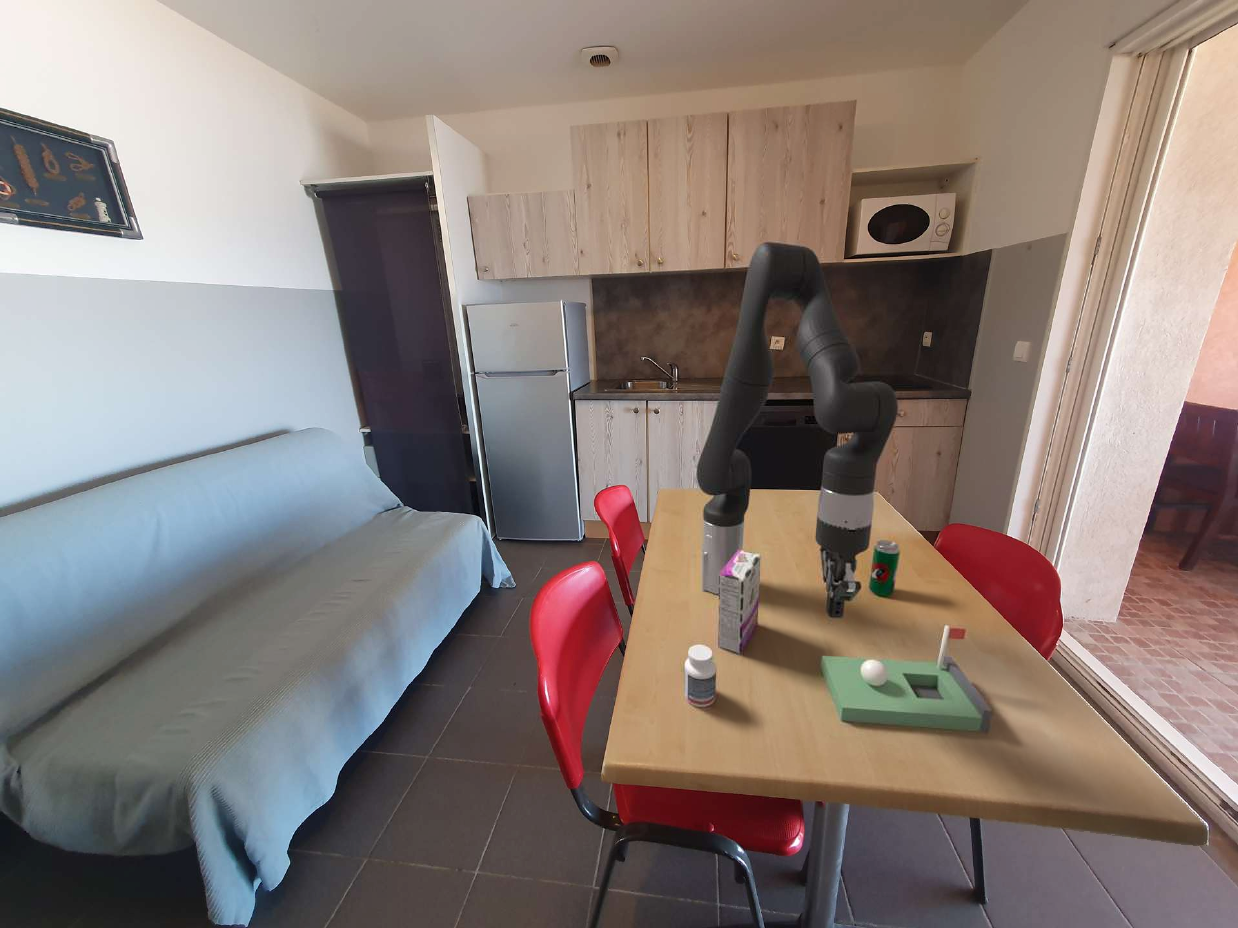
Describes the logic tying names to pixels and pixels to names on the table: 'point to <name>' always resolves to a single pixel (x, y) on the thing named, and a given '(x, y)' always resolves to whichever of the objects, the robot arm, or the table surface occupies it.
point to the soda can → (884, 568)
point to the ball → (874, 672)
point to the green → (909, 692)
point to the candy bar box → (738, 600)
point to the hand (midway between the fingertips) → (834, 615)
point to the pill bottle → (700, 676)
